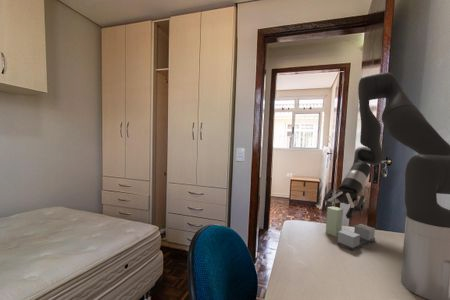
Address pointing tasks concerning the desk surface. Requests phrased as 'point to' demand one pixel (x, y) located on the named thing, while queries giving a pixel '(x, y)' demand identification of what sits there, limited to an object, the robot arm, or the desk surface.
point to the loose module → (334, 220)
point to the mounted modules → (356, 235)
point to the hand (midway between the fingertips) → (336, 214)
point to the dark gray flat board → (361, 244)
